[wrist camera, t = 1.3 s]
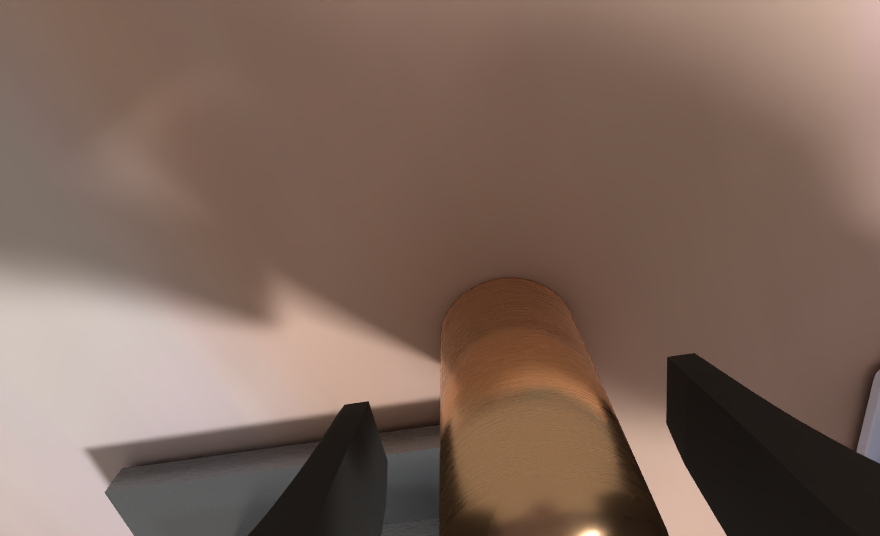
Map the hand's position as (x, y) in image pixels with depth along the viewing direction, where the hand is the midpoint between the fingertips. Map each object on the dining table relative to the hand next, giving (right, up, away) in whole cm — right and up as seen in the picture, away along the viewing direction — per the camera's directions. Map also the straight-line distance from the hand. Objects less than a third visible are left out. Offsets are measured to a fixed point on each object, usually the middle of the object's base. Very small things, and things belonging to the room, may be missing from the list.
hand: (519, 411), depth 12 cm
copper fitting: (0, +1, +3) cm, 3 cm away
